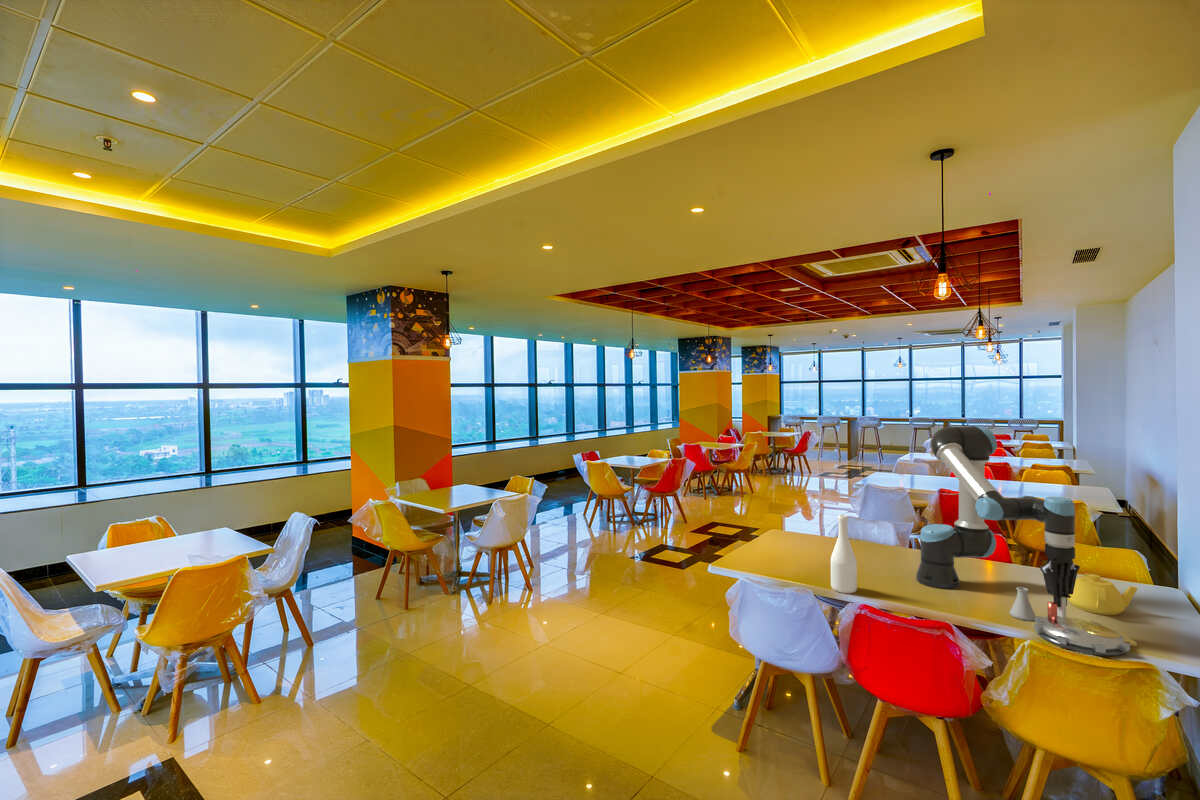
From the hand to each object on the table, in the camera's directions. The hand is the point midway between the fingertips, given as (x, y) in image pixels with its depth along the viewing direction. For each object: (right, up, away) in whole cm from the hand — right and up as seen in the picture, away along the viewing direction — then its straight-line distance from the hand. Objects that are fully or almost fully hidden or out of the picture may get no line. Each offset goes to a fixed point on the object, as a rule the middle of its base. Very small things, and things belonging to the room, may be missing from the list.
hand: (1060, 615), depth 173 cm
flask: (-4, -5, +10) cm, 12 cm away
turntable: (0, -4, -7) cm, 8 cm away
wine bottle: (-54, -6, +38) cm, 66 cm away
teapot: (+28, -4, +17) cm, 33 cm away
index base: (+2, -5, -8) cm, 9 cm away
